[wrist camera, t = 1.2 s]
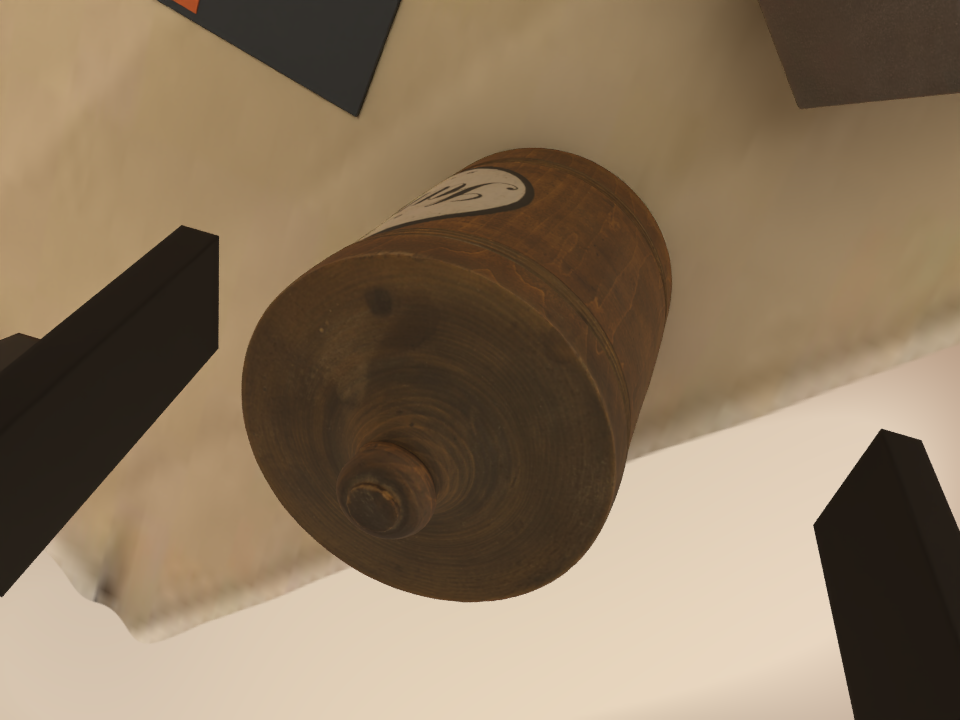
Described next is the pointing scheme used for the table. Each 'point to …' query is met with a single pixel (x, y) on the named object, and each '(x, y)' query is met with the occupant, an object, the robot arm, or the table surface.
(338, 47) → the desk mat
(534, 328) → the wooden container
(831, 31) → the planter
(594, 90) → the table surface
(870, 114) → the table surface
